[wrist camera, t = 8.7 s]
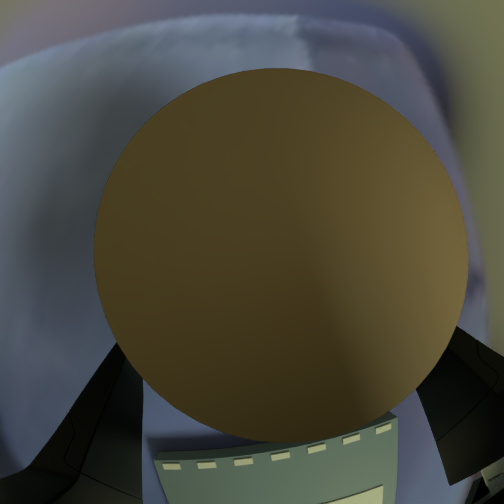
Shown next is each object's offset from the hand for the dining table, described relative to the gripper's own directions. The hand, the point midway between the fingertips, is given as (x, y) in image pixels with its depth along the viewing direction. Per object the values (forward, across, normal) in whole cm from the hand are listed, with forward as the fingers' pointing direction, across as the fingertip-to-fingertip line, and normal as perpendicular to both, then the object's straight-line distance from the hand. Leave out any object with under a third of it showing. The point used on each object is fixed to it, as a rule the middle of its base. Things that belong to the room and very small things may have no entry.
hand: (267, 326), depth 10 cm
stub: (+5, 0, +3) cm, 6 cm away
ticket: (-5, 0, +14) cm, 15 cm away
